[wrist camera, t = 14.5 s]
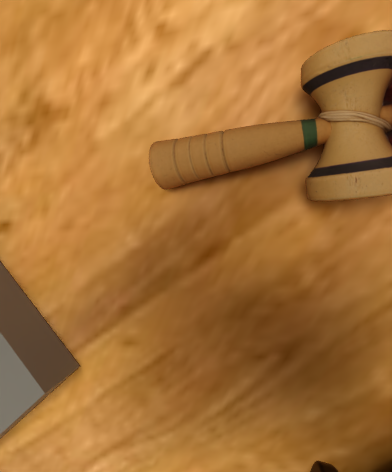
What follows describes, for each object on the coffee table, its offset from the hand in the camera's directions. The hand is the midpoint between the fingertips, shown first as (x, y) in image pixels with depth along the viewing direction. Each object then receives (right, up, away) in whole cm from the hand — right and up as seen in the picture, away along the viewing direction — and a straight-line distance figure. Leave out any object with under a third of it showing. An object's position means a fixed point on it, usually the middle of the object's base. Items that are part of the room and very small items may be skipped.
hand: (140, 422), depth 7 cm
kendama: (+8, +10, +10) cm, 16 cm away
